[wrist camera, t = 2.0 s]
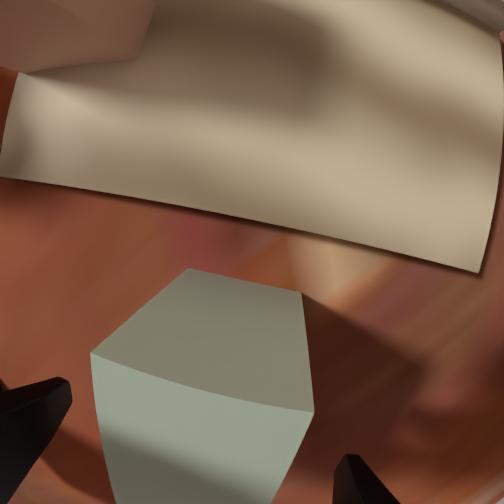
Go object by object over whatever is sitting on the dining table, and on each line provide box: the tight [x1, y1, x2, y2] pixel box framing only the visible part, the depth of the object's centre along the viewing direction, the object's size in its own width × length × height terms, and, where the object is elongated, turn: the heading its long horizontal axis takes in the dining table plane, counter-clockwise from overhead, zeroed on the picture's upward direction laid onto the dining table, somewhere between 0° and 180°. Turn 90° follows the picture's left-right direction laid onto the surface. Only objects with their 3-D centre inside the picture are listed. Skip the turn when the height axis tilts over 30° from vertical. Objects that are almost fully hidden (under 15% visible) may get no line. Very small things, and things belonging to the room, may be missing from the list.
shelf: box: [0, 0, 504, 273], centre depth 9 cm, size 12×22×3 cm, turn 79°
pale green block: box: [90, 268, 314, 504], centre depth 9 cm, size 5×7×7 cm
